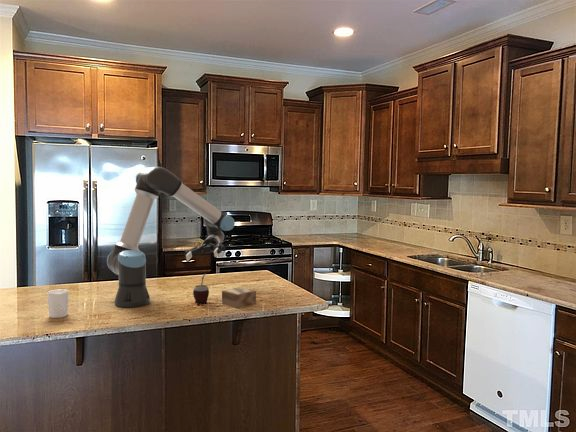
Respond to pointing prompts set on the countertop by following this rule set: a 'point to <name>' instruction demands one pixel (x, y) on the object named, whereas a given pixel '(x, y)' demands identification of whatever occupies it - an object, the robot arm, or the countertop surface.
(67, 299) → the white cup
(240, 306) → the brown cardboard box
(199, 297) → the mate gourd
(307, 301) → the countertop surface
